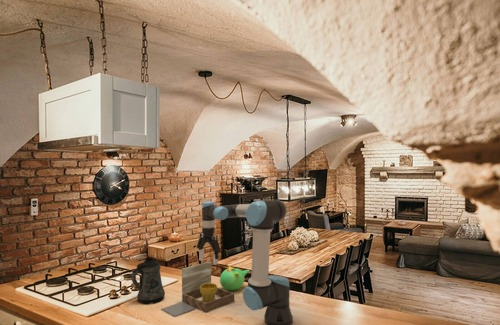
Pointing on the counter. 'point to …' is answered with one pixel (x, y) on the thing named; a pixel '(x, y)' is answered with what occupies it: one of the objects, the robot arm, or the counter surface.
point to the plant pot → (208, 292)
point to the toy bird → (232, 278)
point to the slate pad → (178, 309)
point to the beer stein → (149, 282)
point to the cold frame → (191, 288)
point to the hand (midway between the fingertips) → (208, 262)
